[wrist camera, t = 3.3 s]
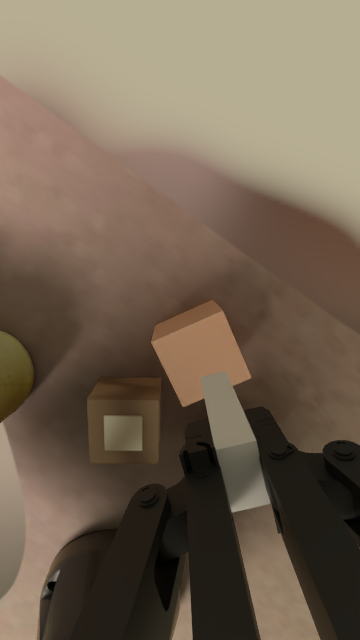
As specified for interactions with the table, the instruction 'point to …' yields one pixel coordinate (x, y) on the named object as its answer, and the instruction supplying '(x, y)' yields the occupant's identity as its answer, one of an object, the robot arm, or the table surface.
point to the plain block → (198, 350)
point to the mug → (13, 374)
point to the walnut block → (124, 420)
